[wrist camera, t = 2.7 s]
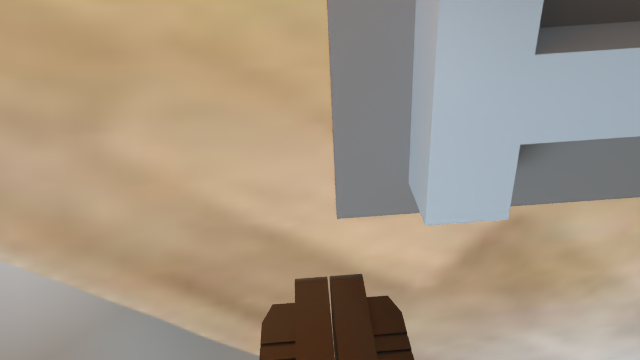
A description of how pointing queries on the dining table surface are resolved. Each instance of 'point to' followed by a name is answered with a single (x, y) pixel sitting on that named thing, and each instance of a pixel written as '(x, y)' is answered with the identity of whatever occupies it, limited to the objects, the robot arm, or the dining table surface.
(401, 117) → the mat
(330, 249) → the dining table surface
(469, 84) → the t block
